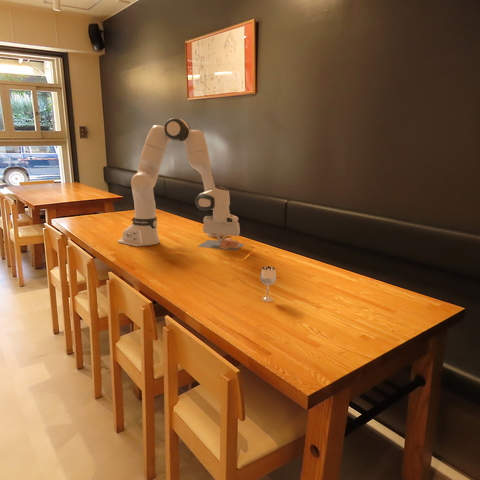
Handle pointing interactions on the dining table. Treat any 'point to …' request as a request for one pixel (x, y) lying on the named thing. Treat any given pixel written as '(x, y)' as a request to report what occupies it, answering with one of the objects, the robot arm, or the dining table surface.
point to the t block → (228, 243)
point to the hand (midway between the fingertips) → (221, 242)
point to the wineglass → (268, 280)
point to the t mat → (218, 245)
